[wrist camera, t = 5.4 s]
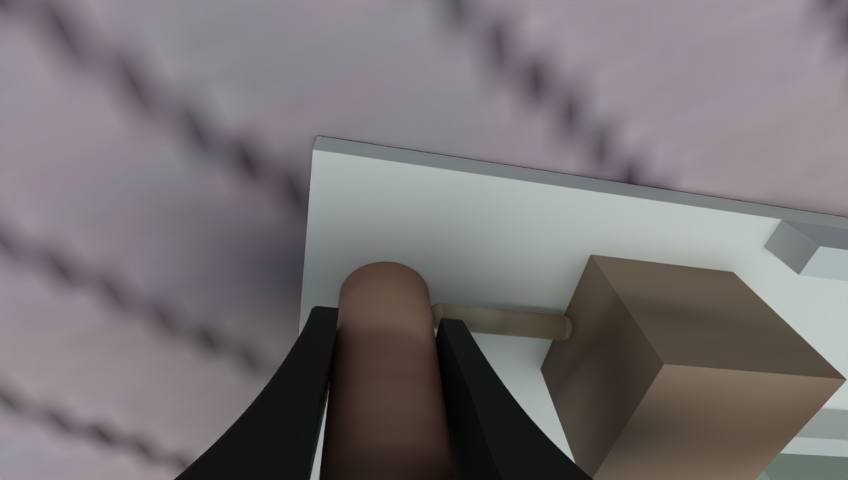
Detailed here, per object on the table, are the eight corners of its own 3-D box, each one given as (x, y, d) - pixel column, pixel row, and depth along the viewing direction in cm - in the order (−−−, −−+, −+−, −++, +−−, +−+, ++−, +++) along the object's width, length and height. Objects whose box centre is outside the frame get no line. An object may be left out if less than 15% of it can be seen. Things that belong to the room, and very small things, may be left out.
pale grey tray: (779, 508, 26) (815, 558, 24) (287, 492, 22) (278, 552, 20) (1045, 247, 18) (1136, 290, 15) (317, 135, 13) (305, 174, 11)
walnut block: (664, 378, 18) (775, 549, 13) (331, 352, 16) (310, 542, 11) (733, 272, 16) (903, 432, 11) (348, 224, 14) (329, 395, 8)
